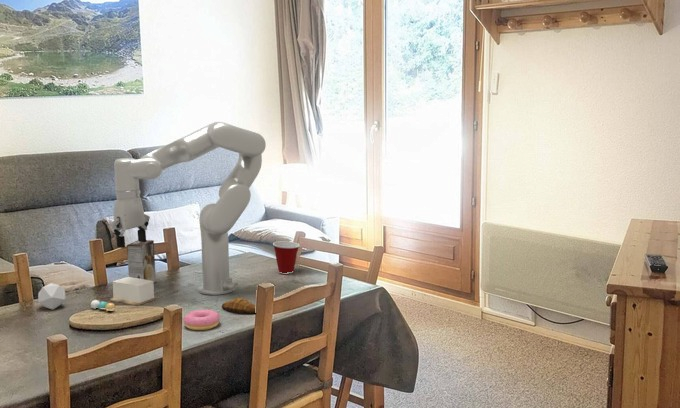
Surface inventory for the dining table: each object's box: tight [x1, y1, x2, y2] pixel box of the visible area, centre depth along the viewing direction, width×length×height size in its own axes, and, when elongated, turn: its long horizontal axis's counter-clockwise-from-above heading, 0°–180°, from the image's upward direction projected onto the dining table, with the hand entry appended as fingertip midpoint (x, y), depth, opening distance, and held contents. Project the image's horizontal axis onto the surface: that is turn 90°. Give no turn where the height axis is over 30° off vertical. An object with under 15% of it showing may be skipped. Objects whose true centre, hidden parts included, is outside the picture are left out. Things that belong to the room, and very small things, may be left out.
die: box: [37, 282, 66, 311], centre depth 220 cm, size 8×9×10 cm
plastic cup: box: [272, 240, 301, 273], centre depth 264 cm, size 11×11×12 cm
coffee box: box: [126, 239, 157, 283], centre depth 247 cm, size 9×6×16 cm
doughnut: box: [183, 309, 221, 331], centre depth 202 cm, size 11×11×4 cm
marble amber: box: [105, 302, 116, 309], centre depth 216 cm, size 3×3×3 cm
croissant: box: [221, 297, 256, 315], centre depth 216 cm, size 14×7×5 cm, turn 65°
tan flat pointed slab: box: [109, 296, 158, 306], centre depth 229 cm, size 13×9×1 cm
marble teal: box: [98, 300, 108, 309], centre depth 217 cm, size 3×3×3 cm
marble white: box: [90, 299, 101, 310], centre depth 219 cm, size 3×3×3 cm
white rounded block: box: [112, 276, 155, 303], centre depth 229 cm, size 12×7×6 cm, turn 62°
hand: (131, 244), depth 226 cm, fingers open, 9 cm apart
